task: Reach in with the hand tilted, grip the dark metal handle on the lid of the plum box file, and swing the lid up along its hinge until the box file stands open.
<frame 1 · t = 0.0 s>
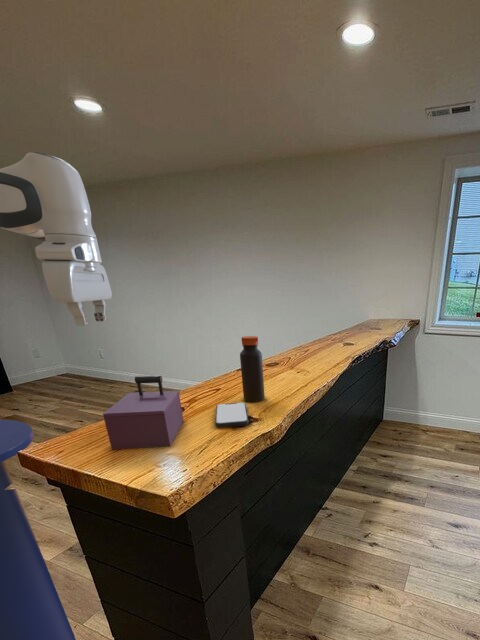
hand: (92, 323, 77), 27 cm above the table, tool pointing down, fingers open, 8 cm apart
bottle: (254, 399, 114), on the table
file lid: (143, 393, 83), point 11 cm above the table, hinge at 0.0°
phone case: (232, 417, 99), on the table
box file: (151, 434, 87), on the table
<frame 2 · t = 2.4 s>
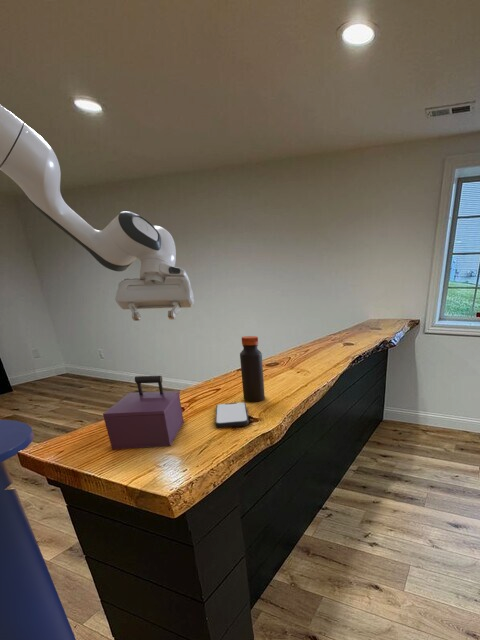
hand: (153, 318, 95), 26 cm above the table, tool tilted 40°, fingers open, 8 cm apart
nothing on the table moved.
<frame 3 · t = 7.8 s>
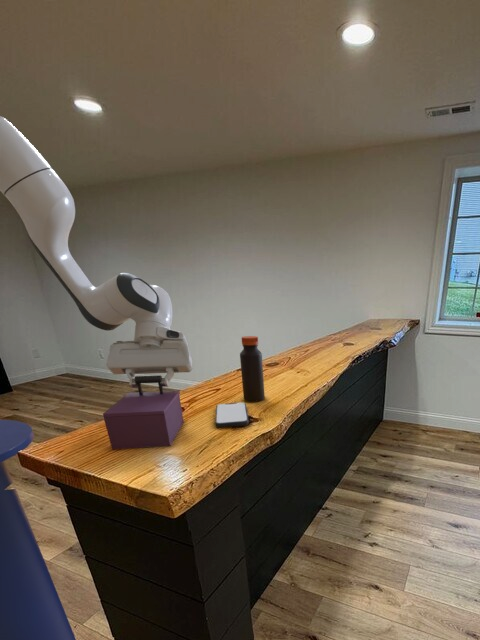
hand: (149, 386, 88), 11 cm above the table, tool tilted 45°, fingers closed on file lid, 6 cm apart
file lid: (143, 393, 83), point 11 cm above the table, hinge at 0.0°, touching gripper
everything else where it was.
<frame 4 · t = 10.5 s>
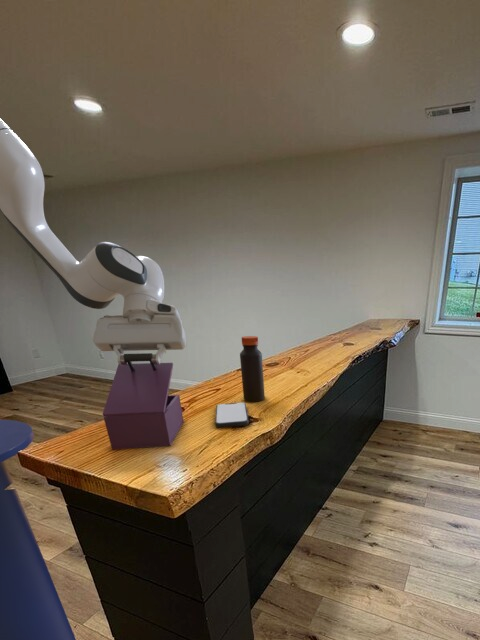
hand: (139, 363, 82), 18 cm above the table, tool tilted 45°, fingers closed on file lid, 6 cm apart
file lid: (137, 380, 80), point 14 cm above the table, hinge at 29.4°, touching gripper
everything else where it was.
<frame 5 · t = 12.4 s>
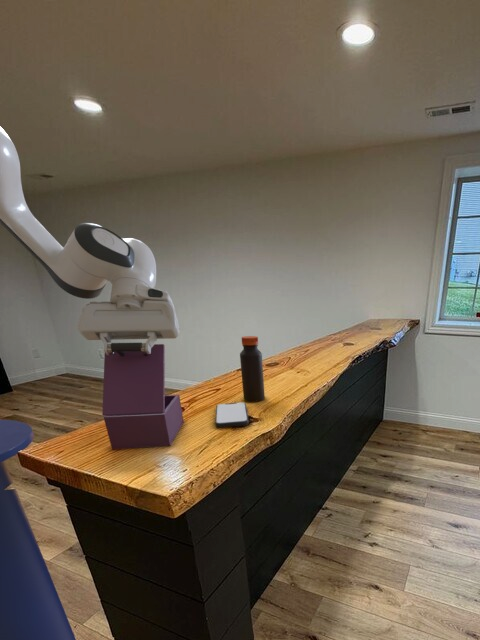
hand: (127, 352, 75), 21 cm above the table, tool tilted 45°, fingers closed on file lid, 6 cm apart
file lid: (130, 375, 76), point 16 cm above the table, hinge at 55.2°, touching gripper
everything else where it was.
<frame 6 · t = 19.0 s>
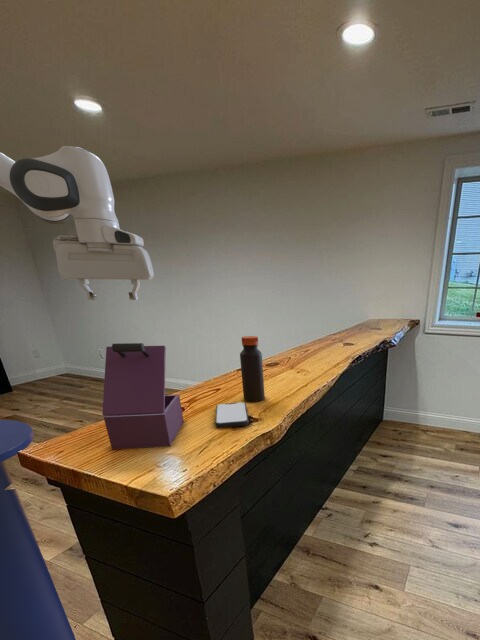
hand: (113, 299, 86), 31 cm above the table, tool pointing down, fingers open, 8 cm apart
file lid: (131, 375, 76), point 16 cm above the table, hinge at 52.7°
everything else where it was.
at the end: file lid at +53° (first picture: +0°) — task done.
